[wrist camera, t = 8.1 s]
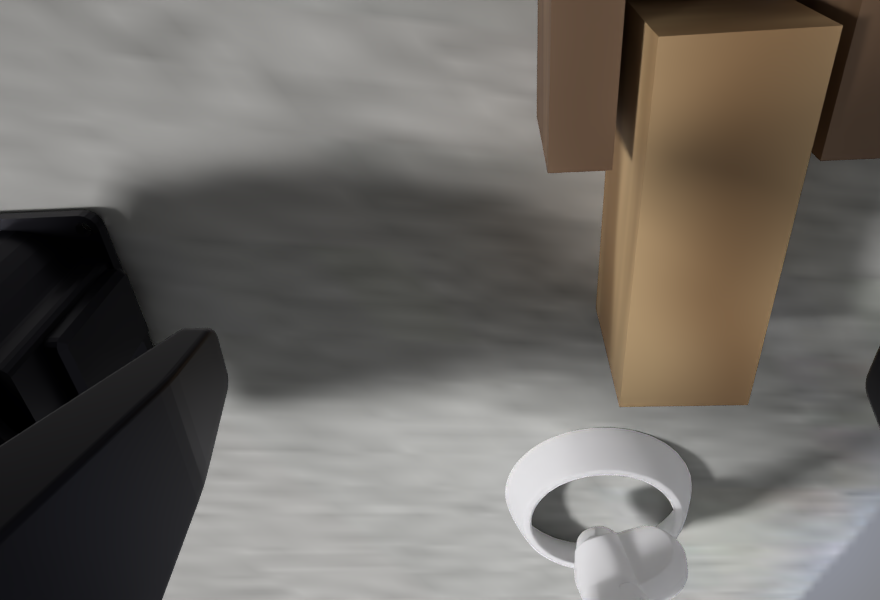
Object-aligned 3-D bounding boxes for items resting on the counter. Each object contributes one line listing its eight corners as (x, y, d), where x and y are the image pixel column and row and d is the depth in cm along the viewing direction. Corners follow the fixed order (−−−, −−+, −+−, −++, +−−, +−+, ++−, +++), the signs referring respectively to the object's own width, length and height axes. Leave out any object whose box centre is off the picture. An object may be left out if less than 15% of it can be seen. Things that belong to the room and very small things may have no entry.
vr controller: (667, 412, 19) (812, 645, 18) (630, 377, 30) (716, 516, 29) (438, 538, 20) (564, 763, 19) (488, 457, 31) (566, 594, 31)
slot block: (537, 115, 19) (547, 173, 16) (539, -133, 16) (553, -126, 13) (817, 101, 19) (889, 157, 15) (881, -162, 15) (991, -161, 12)
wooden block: (595, 305, 23) (619, 406, 19) (617, -11, 17) (658, 36, 13) (700, 302, 23) (747, 404, 19) (756, -20, 17) (843, 25, 13)
